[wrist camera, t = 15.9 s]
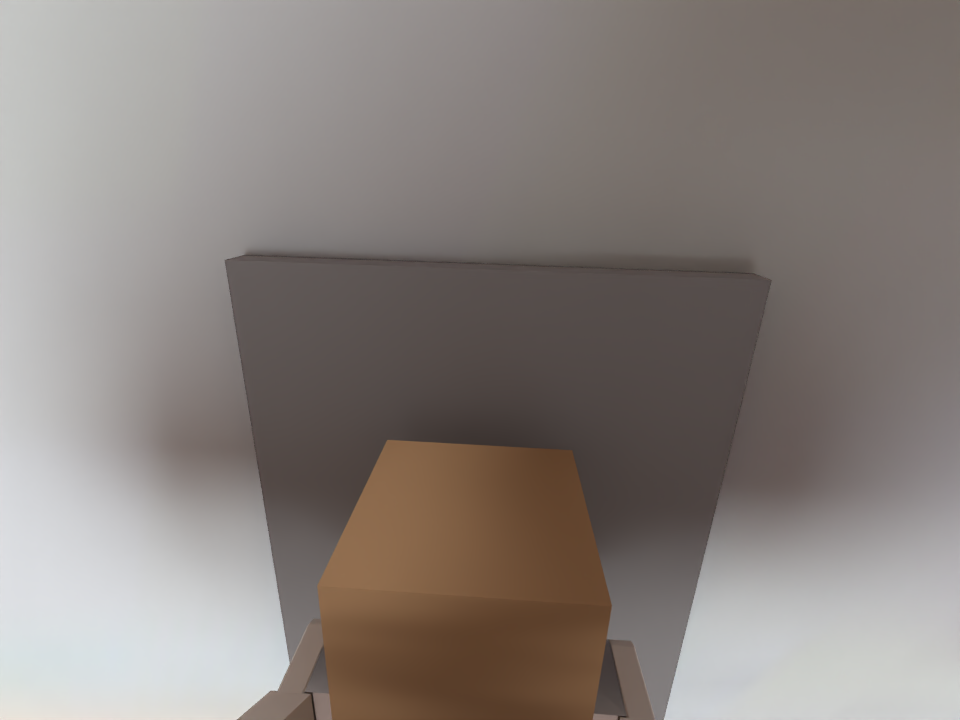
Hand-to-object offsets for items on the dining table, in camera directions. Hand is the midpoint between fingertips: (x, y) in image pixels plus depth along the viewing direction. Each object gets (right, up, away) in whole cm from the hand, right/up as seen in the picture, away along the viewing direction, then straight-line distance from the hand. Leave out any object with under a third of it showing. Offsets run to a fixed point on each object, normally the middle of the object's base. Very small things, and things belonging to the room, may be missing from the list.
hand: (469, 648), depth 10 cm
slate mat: (0, +1, +3) cm, 4 cm away
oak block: (0, -5, +1) cm, 6 cm away
